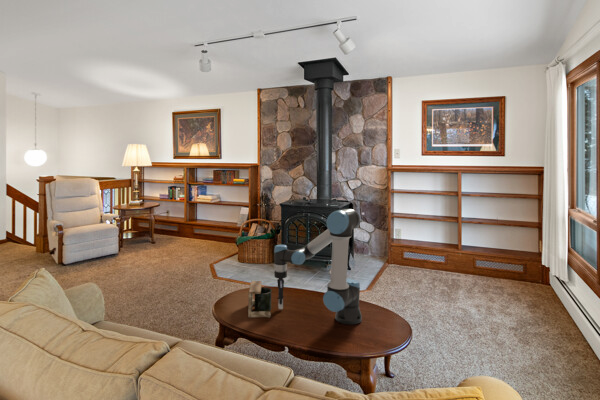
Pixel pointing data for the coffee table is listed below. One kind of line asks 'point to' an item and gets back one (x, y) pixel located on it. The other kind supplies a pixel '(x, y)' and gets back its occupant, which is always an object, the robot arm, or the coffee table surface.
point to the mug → (263, 300)
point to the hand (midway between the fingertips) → (280, 308)
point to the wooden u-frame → (254, 289)
